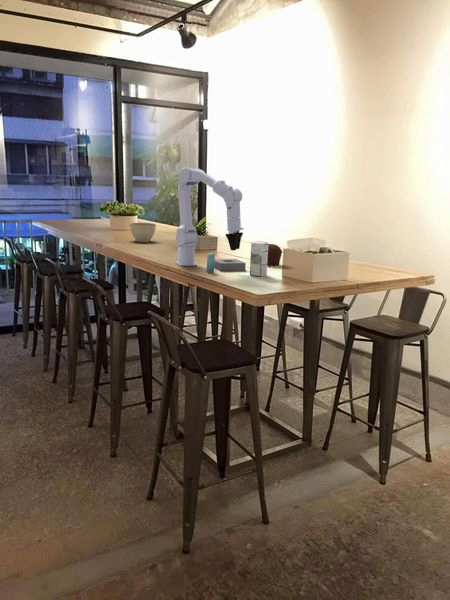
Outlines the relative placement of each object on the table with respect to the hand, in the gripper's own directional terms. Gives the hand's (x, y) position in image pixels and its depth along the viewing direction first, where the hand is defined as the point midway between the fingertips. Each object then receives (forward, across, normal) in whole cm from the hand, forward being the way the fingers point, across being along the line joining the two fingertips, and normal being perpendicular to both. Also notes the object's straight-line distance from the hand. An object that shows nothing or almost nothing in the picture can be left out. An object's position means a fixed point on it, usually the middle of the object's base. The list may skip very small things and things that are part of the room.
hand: (235, 249), depth 226 cm
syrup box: (+12, -1, -10) cm, 15 cm away
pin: (+9, -2, +11) cm, 15 cm away
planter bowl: (-1, +87, +76) cm, 115 cm away
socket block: (+9, +10, +6) cm, 15 cm away
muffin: (+10, +30, -11) cm, 34 cm away
